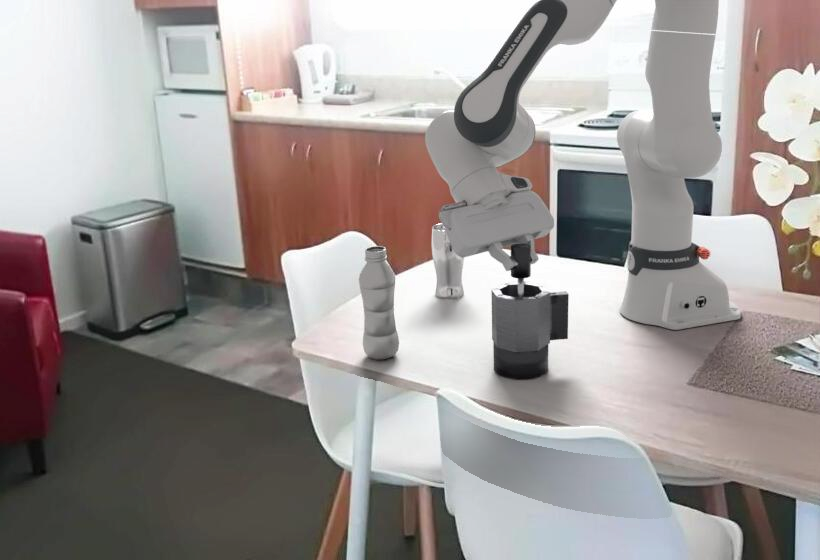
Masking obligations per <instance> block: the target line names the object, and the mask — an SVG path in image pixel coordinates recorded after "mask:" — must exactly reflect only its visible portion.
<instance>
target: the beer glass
mask: <svg viewBox="0 0 820 560" xmlns="http://www.w3.org/2000/svg"><path fill="white" fill-rule="evenodd" d="M431 254H432V260H433V265H434V270H435V274H436V287H435V296H436V297H437V298H439V299H441V300H442V299H443V300H454V299H460V298H462V297H463V296H464V294H465V291H464V287H463V280H462V277H463V275H462V274H463V269H464V261H465V257H464V258H462V257H460V256H458V255H457V254H456V253H455V252H454V250H453V248H452V246H451V244H450V242H449V239H448V237H447V234H446V231H445V227H444V225H443V224H442V222H440V223H438V224H434V225H433V226H431Z"/></svg>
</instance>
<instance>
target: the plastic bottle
mask: <svg viewBox="0 0 820 560" xmlns="http://www.w3.org/2000/svg"><path fill="white" fill-rule="evenodd" d="M364 254H365V256H364V261H365V262H366V263H365V265H364V266H363V268H362V269H361V271H360V273H359V276H358V285H359V290H360V294H361V298H362V306H363V307H362V308H363V315H364V319H363V322H364V323H363V324H364V325H363V327H364V329H363V331H364V332H363V336H362V347H363V350H364V351H363V352H364V353H365V355H366V356H367V357H368V358H370V359H373V360H386V359H390V358H393V357H394V356H396V354H397V353H398V351H399V346H400V339H399V334H398V331H397V327H396V320H395V319H396V318H395V308H394V307H395V289H396V275H395V273H394V270H393V269H392V268H391V266H390V265H389V263H387V259H388V256H387V248H386V247H385V246H381V245H376V246H368V247H367V248H365V249H364Z"/></svg>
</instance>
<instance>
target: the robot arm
mask: <svg viewBox="0 0 820 560" xmlns="http://www.w3.org/2000/svg"><path fill="white" fill-rule="evenodd" d="M719 2H720V1H719V0H654V3H655V8H654V13H653V18H652V23H651V24H652V25H651V29H650V30H651V31H650V35H649V36H650V37H649V42H648V43H649V44H648V51H647V56H646V62H645V63H646V65H645V69H644V70H645V71H644V74H645V75H644V76H645V78H646V82H647V84H648V86H649V89H650V94H651V102H652V107H648V108H642V109H638V110H634V111H632V112H629V113H628V114H627V115H626V116H624V118H623V119H622V120H621V121H620V123H619V126H618V127H617V131H616V141H617V145H618V147H619V149H620V151H621V153H622V156H623V158H624V162H625V168H626V172H627V178H628V183H629V189H630V196H631V207H632V208H631V234H630V235H631V240H630V241H628V252H627V270H628V274H627V275H628V276H627V282H626V287H625V292H624V296H623V299H622V302H621V304H620V308H619V312H620V314H621V315H622V316H623V317H625V318H626V319H627V320H630V321H633V322H637V323H640V324H645V325H652V326H659V327H662V328H664V329H669V330H672V331H673V330H674V331H676V330H677V331H678V330H684V329H689V328H695V327H696V328H697V327H701V326H706V325H712V324H717V323H724V322H730V321H736V320H740V319H741V317H742V314H741V309H740V307H739V306H738V305H737V304H736V303H735V302H733V301H732V300H730V295H729V294H730V293H729V290H728V286H727V283H726V282H725V280H723V278H722V277H720V276H719V275H718V274H717V273H715V272H714V271H712V269H710V268H709V267H708V266H706V265H705V264H704V263H702V262H701V261H700V258H701V260H708V259H709V257H711V251H710V250H709V249H708V248H706V247H704V246H700V245H698V244H696V243H694V242H692V239H693V238H692V237H693V227H694V226H693V222H694V208H695V207H694V203H693V199H692V197H691V195H690V194H689V191H688V189H687V185H686V181H685V179H696V178H700V177H703V176H705V175H707V174H709V173H710V172H711V171H712V170H713V169H714V168H715V167H716V166H717V164H718V162H719V161H720V158H721V156H722V151H723V142H722V139H721V136H720V134H719V132H718V130H717V129H716V126H715V123H714V119H713V115H712V113H713V112H712V104H711V97H710V96H711V95H710V78H711V75H710V74H711V70H712V69H711V68H712V67H711V66H712V63H713V55H714V54H713V53H714V49H715V48H714V47H715V42H716V35H717V27H718V20H719V4H720V3H719ZM616 3H617V0H537V2H535V3H533V5H532V6H531V7H530V8H529V9H528V11H526V13H525V14H524V15H523V17H522V18H521V19H520V20H519V22H518V24H517V25H516V26H515V28H514V29H513V31H512V32H511V33H510V35H509V36H508V37H507V39H506V41H505V42H504V43H503V45H502V46H501V48H500V49H499V50H498V52H497V53H496V55H495V56H494V57H493V60H492V61H491V62H490V64H489V65H488V67H487V68H485V70H484V71H483V72H482V73H481V74H480V75H478V77H477V78H476V79H474V80H473V81H472V82H470V83H469V84H468V85H467V86H466V87H465V88H464V89H463V90H462V92H460V94H459V96H458V97H457V99H456V101H455V105H454V109H449V110H446V111H443V112H442V113H440V114H438V116H436V117H435V118H433V120H432V121H431V122H430V123H429V125H428V126H427V128H426V132H425V137H424V141H425V146H426V147H425V148H426V150H427V153H428V155H429V157H430V159H431V161H432V163H433V166H434V167H435V169H436V171H437V173H438V174H439V176H440V177H441V179H443V180H444V181H445V182H446V184H447V185H448V188H449V191H450V195H451V197H452V198H453V200H454V203H451V204H449V203H448V204H444V205H443V206H441V208H440V210H439V211H438V218H439V220H440V223H442V224H443V225H444V227H445V231H446V234H447V237H448V239H449V242H450V244H451V246H452V248H453V250H454V252H455V253H456V254H457V255H458V256H460V257H462V258H464V259H465V258H467V257H472V256H475V255H478V254H482V253H487V252H488V253H489V255H490V257H492V258H493V259H494V260H496V261H497V262H499V263H500V264H502V266H503V268H504V269H505V271H506V272H509V271H510V272H511V270H513V269H515V268H516V267H517V266H518V262H517V261H516V260H515V257H514V256H511V255H509V254H508V253H507V252H505V251H504V249H503V248H506V247H509V246H510V247H511V245H513V244H518V243H524V244H529V245H530V246H531V265H535V264H536V263H537V262H538V261H539V256H538V254H537V252H536V251H535V249H536V248H535V239H536V240H537V239H541V238H544V237H546V236H547V235H548V234H549V233H550V232H551V231H552V230H553V229H554V228H555V219H554V216H553V214H552V212H551V211H550V210H549V208H548V207H547V205H546V203H545V202H544V201H543V199H542V197H540V195H539V194H538V193H536V192H534V191H533V190H532V188H533V184H532V182H531V180H530V179H529V178H527V177H522V176H516V175H510V174H506V173H502V172H499V170H498V168H500V167H502V166H504V165H507V164H509V163H511V162H514V161H515V160H517V159H520V158H521V157H522V156H524V155H525V154H526V153H527V152H528V151H529V150H530V149H531V148H532V146H533V143H534V141H535V138H536V125H535V122H534V120H533V118H532V116H531V115H530V114H529V113H528V112H527V111H526V109H525V108H524V107H523V106H522V105H521V104H520V102H519V101H520V94H521V91H522V89H523V87H524V86H525V84H526V83H527V82H528V80H529V79H530V77H531V76H532V74H533V73H534V71H535V70H536V68H537V67H538V65H539V64H540V62H541V61H542V60H543V58H544V57H545V56H546V54H547V53H548V52H549V51H550V50H551V49H552V48H554V47H556V46H558V45H566V46H567V45H568V46H570V45H571V46H572V45H579V44H583V43H585V42H587V41H589V40H590V39H592V37H594V36H595V34H596V33H597V32H598V30H600V28H601V27H602V26H603V24H604V23H605V22H606V20H607V18H608V16H609V15H610V13H611V11H612V10H613V8H614V6H615V4H616Z"/></svg>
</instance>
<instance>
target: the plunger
mask: <svg viewBox="0 0 820 560" xmlns="http://www.w3.org/2000/svg"><path fill="white" fill-rule="evenodd" d="M510 256H514V257H515V260H516V261H517V262H518V266H517V267H516V268H515V269H513V270H510V276H511V278H515V279H517V282H518V298H522V297H524V281H525V279H527V278H530V277H531V275H532V274H531V272H532V271H531V269H532V268H531V266H532V264H531V246H530V245H529V244H524V243H517V244H513V245H510Z"/></svg>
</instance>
